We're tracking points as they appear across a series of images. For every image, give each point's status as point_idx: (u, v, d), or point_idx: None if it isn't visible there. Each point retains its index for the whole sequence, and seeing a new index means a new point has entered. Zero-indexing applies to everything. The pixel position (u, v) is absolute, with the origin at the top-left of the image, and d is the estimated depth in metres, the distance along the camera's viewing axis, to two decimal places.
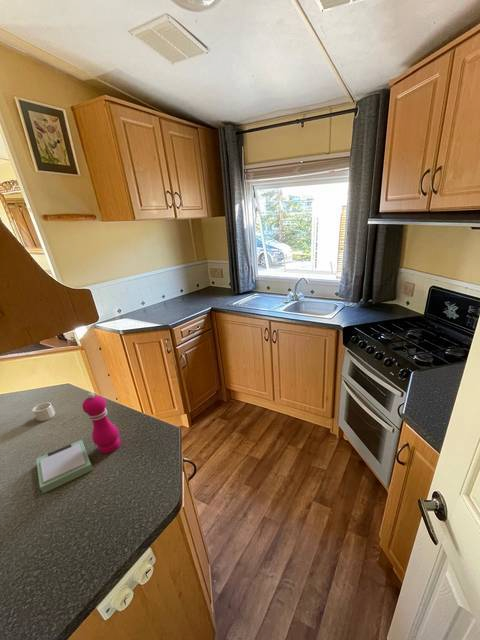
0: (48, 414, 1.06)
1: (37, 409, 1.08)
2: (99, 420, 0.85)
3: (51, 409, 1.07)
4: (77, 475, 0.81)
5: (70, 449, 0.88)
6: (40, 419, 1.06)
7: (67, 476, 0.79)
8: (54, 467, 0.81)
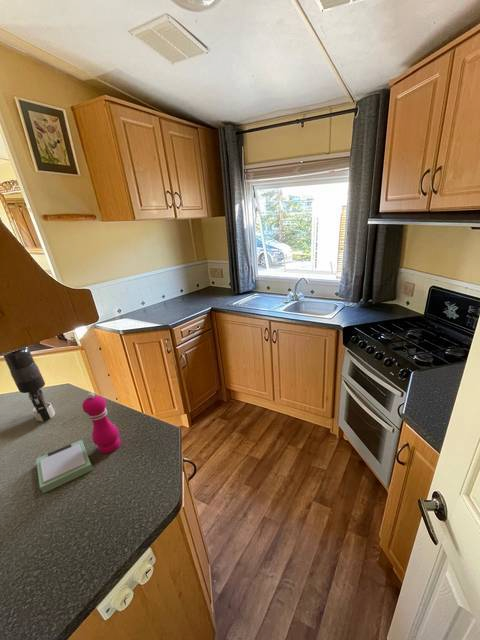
0: None
1: None
2: (99, 420, 0.85)
3: (51, 409, 1.07)
4: (77, 475, 0.81)
5: (70, 449, 0.88)
6: (40, 419, 1.06)
7: (67, 476, 0.79)
8: (54, 467, 0.81)
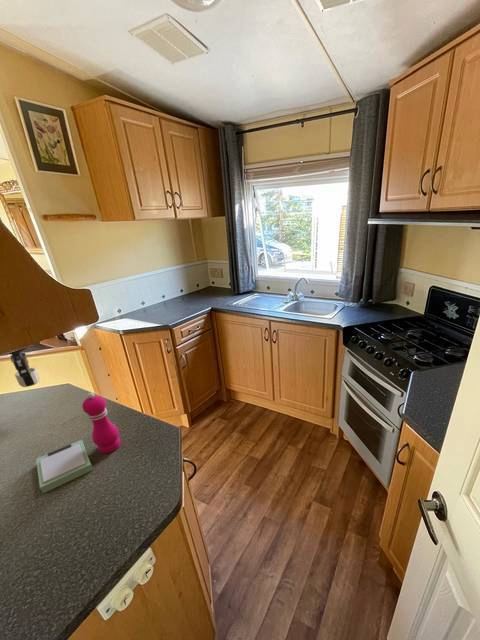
0: None
1: None
2: (99, 420, 0.85)
3: (35, 374, 1.00)
4: (77, 475, 0.81)
5: (70, 449, 0.88)
6: (23, 384, 0.98)
7: (67, 476, 0.79)
8: (54, 467, 0.81)
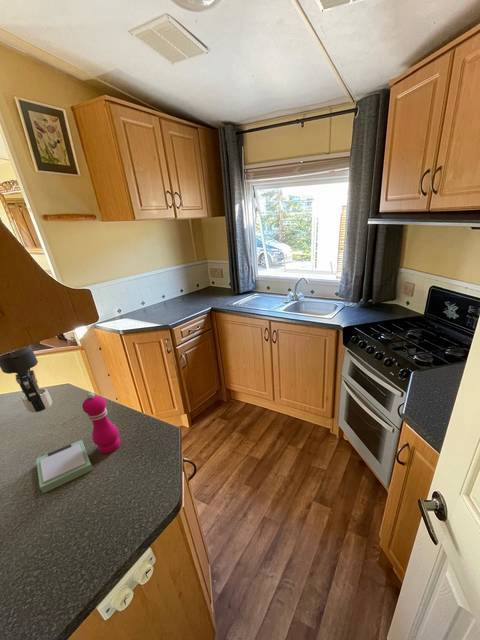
0: (43, 403, 0.80)
1: None
2: (99, 420, 0.85)
3: (47, 396, 0.81)
4: (77, 475, 0.81)
5: (70, 449, 0.88)
6: (32, 410, 0.79)
7: (67, 476, 0.79)
8: (54, 467, 0.81)
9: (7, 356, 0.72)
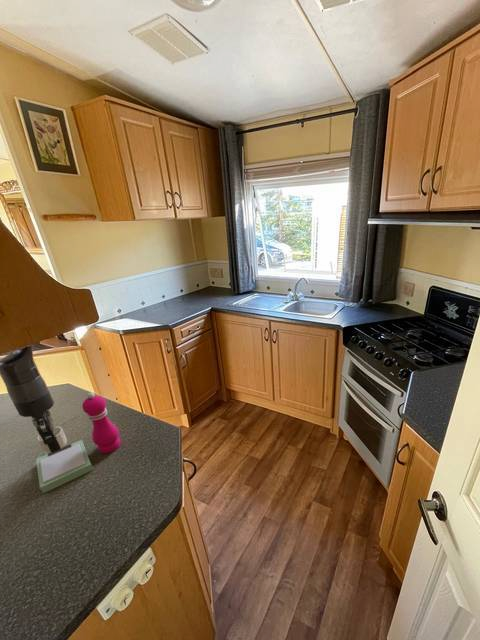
0: None
1: None
2: (99, 420, 0.85)
3: (62, 436, 0.80)
4: (77, 475, 0.81)
5: (70, 449, 0.88)
6: (47, 450, 0.79)
7: (67, 476, 0.79)
8: (54, 467, 0.81)
9: (24, 401, 0.71)
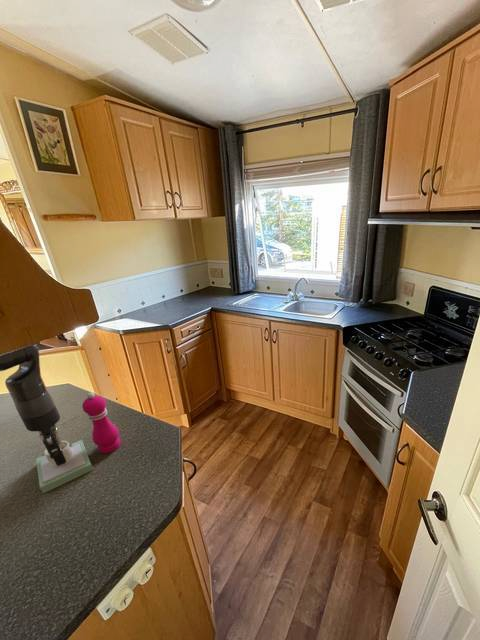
0: (65, 457, 0.82)
1: None
2: (99, 420, 0.85)
3: (68, 450, 0.83)
4: (77, 475, 0.81)
5: None
6: (55, 464, 0.81)
7: (67, 476, 0.79)
8: (54, 467, 0.81)
9: (32, 416, 0.73)
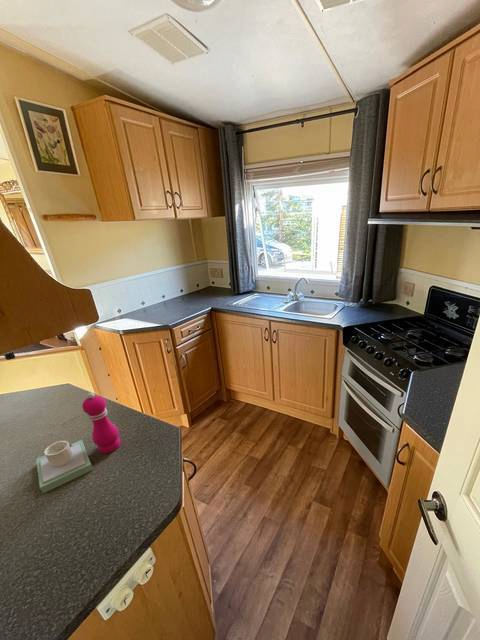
0: (65, 457, 0.82)
1: (50, 450, 0.83)
2: (99, 420, 0.85)
3: (68, 450, 0.83)
4: (77, 475, 0.81)
5: None
6: (55, 464, 0.81)
7: (67, 476, 0.79)
8: (54, 467, 0.81)
9: None
